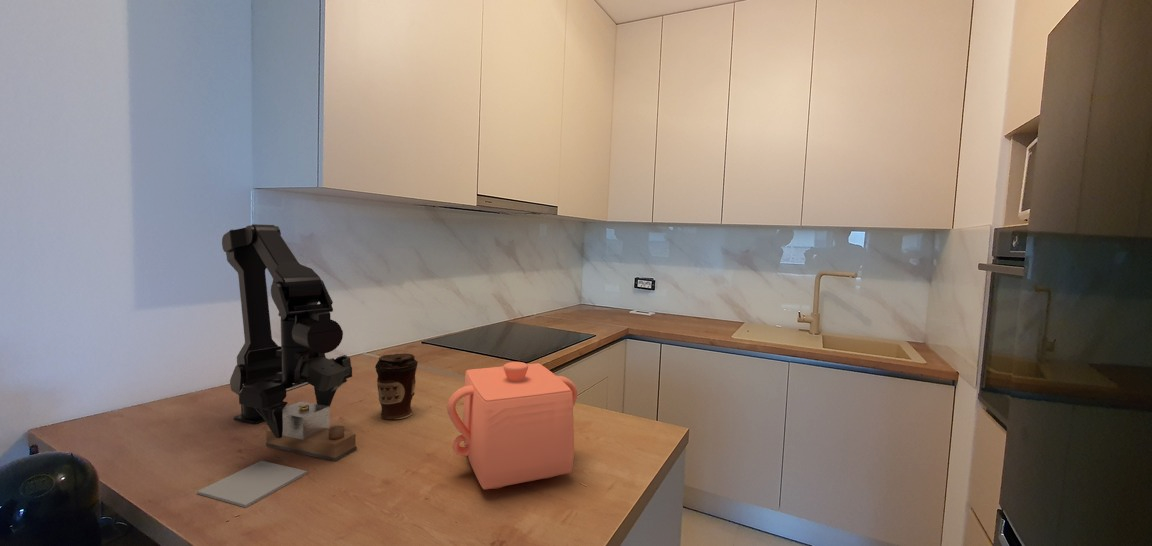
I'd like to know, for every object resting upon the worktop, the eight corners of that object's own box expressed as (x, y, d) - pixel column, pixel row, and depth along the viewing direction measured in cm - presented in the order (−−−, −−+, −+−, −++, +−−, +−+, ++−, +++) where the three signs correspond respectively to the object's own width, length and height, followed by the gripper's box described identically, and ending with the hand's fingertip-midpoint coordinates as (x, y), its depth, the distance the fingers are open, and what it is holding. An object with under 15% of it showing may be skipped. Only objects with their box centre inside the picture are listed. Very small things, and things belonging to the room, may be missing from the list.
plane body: (265, 445, 84) (264, 421, 83) (288, 435, 88) (287, 412, 88) (336, 461, 78) (335, 435, 78) (356, 449, 83) (356, 425, 82)
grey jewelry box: (273, 433, 82) (272, 408, 82) (301, 421, 87) (300, 398, 87) (303, 439, 80) (302, 414, 79) (329, 427, 85) (329, 403, 85)
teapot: (436, 437, 89) (435, 347, 87) (545, 421, 98) (546, 339, 96) (455, 508, 66) (455, 387, 65) (596, 479, 75) (599, 372, 73)
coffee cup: (402, 425, 94) (402, 363, 93) (366, 421, 96) (365, 360, 95) (424, 409, 102) (424, 352, 101) (391, 406, 104) (390, 350, 103)
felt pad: (197, 493, 68) (197, 491, 68) (261, 462, 78) (261, 460, 77) (245, 507, 65) (245, 504, 65) (307, 473, 74) (307, 471, 74)
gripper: (286, 361, 71) (289, 458, 72) (374, 337, 89) (375, 415, 90) (234, 354, 74) (238, 446, 76) (329, 332, 92) (330, 407, 93)
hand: (302, 427), depth 84 cm, fingers open, 9 cm apart
